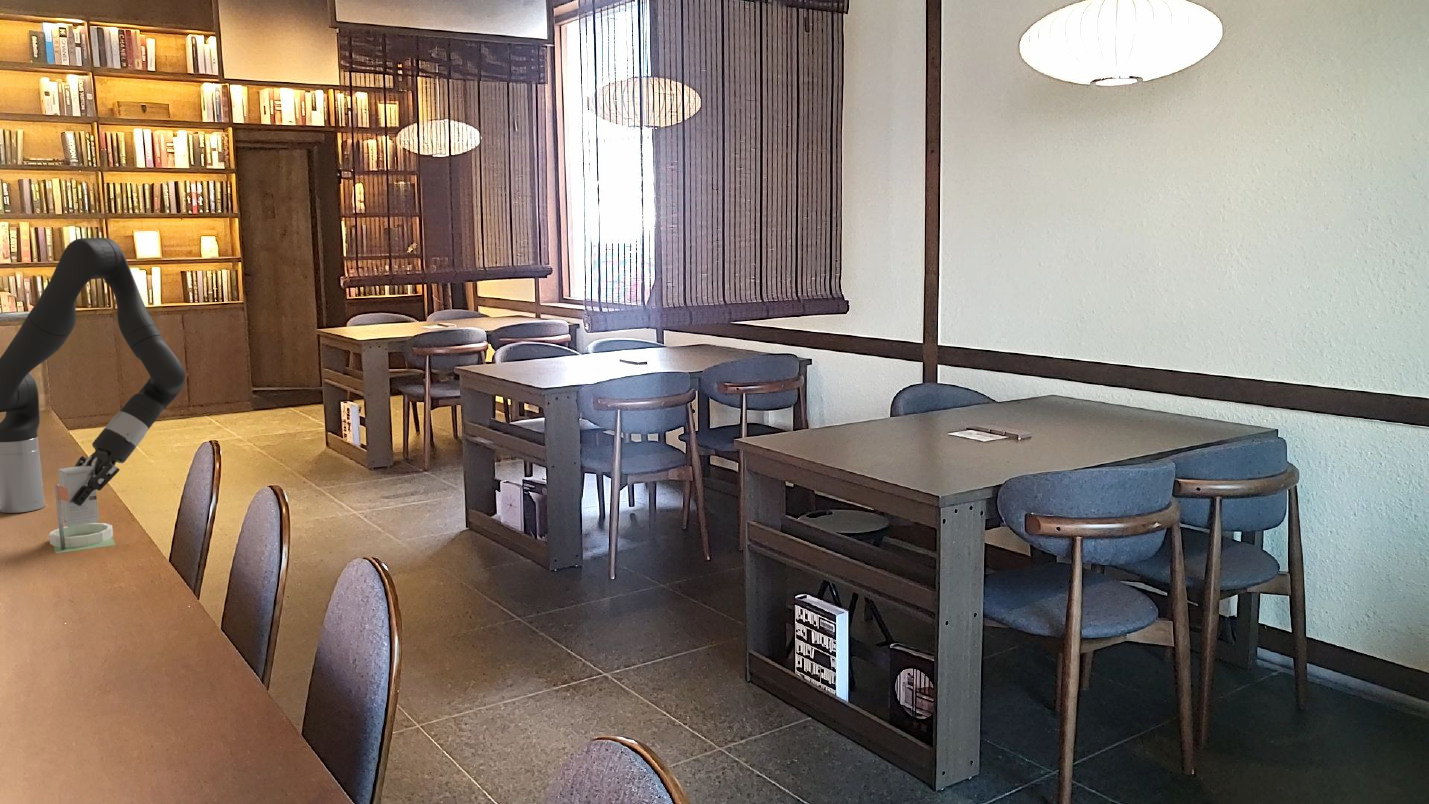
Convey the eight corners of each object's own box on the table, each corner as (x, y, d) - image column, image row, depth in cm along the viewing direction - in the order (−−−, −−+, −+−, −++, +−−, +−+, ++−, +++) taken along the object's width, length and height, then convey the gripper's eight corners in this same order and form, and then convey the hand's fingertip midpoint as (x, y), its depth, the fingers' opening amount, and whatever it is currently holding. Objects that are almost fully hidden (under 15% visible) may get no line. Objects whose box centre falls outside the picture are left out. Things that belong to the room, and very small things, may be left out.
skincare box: (69, 527, 234) (62, 472, 232) (62, 524, 237) (56, 468, 235) (100, 522, 238) (94, 467, 236) (94, 518, 242) (88, 464, 240)
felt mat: (49, 535, 243) (49, 533, 243) (106, 527, 249) (106, 526, 249) (55, 555, 228) (55, 553, 228) (115, 546, 234) (115, 544, 234)
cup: (40, 541, 237) (39, 532, 237) (96, 529, 246) (95, 520, 246) (66, 550, 230) (65, 540, 230) (122, 537, 240) (121, 528, 239)
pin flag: (60, 549, 231) (53, 484, 228) (64, 548, 231) (57, 483, 229) (71, 553, 228) (64, 487, 226) (75, 552, 228) (68, 486, 226)
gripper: (91, 424, 245) (39, 487, 237) (123, 430, 236) (70, 496, 229) (118, 443, 250) (68, 506, 242) (150, 450, 242) (99, 515, 234)
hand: (69, 501), depth 236 cm, fingers closed on skincare box, 4 cm apart
